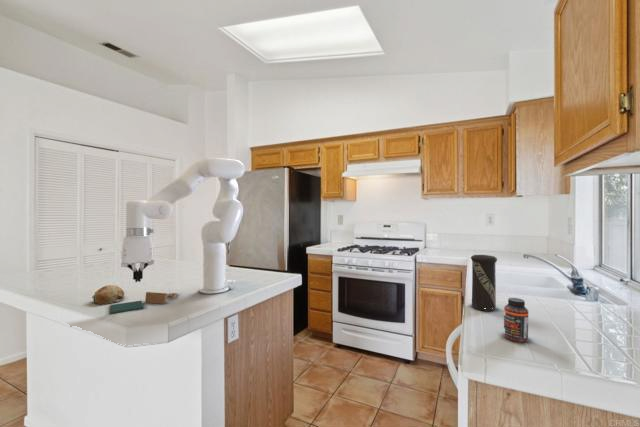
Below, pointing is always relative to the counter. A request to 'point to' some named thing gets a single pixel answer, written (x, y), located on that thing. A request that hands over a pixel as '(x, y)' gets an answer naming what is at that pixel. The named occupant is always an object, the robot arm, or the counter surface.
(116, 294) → the bread roll
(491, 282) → the container
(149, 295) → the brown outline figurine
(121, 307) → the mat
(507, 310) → the supplement bottle
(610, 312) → the counter surface
